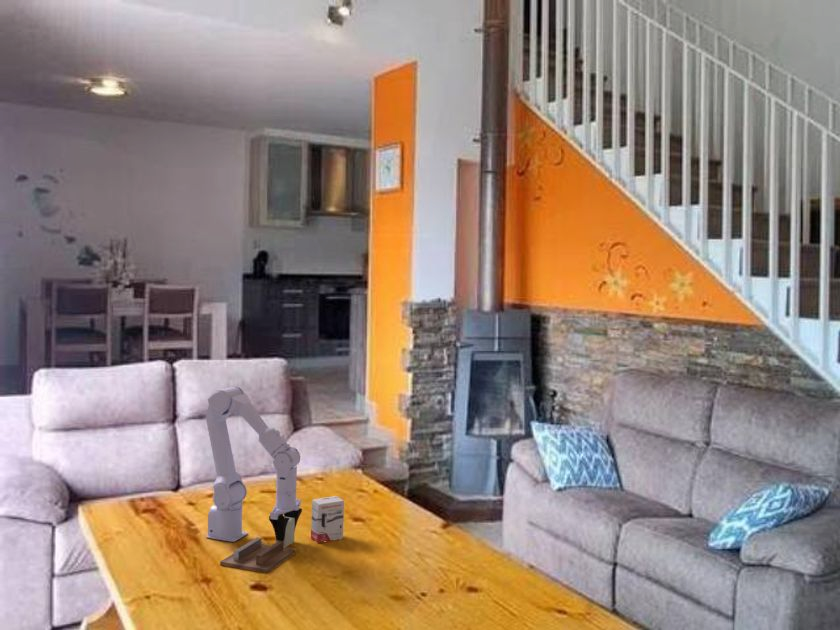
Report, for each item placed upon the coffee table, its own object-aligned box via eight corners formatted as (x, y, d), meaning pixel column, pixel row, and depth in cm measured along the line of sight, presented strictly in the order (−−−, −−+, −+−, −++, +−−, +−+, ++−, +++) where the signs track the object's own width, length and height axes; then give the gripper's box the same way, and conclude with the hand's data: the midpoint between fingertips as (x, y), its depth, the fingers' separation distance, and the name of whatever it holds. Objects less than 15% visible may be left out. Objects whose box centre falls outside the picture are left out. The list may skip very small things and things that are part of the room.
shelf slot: (220, 565, 208) (220, 552, 208) (251, 545, 223) (252, 533, 223) (266, 573, 203) (266, 560, 203) (295, 552, 218) (295, 540, 218)
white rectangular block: (275, 546, 223) (276, 522, 223) (285, 540, 228) (285, 516, 228) (285, 547, 222) (285, 523, 222) (294, 541, 227) (294, 517, 227)
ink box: (317, 543, 226) (318, 503, 226) (310, 538, 230) (311, 499, 230) (343, 538, 231) (344, 499, 230) (336, 533, 235) (337, 495, 234)
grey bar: (233, 560, 209) (233, 551, 209) (256, 546, 220) (257, 537, 220) (238, 561, 208) (238, 552, 208) (261, 546, 220) (261, 538, 219)
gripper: (286, 499, 216) (285, 547, 217) (310, 485, 230) (309, 531, 231) (264, 495, 218) (263, 543, 219) (289, 483, 232) (288, 527, 233)
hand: (285, 536), depth 225 cm, fingers closed on white rectangular block, 5 cm apart
